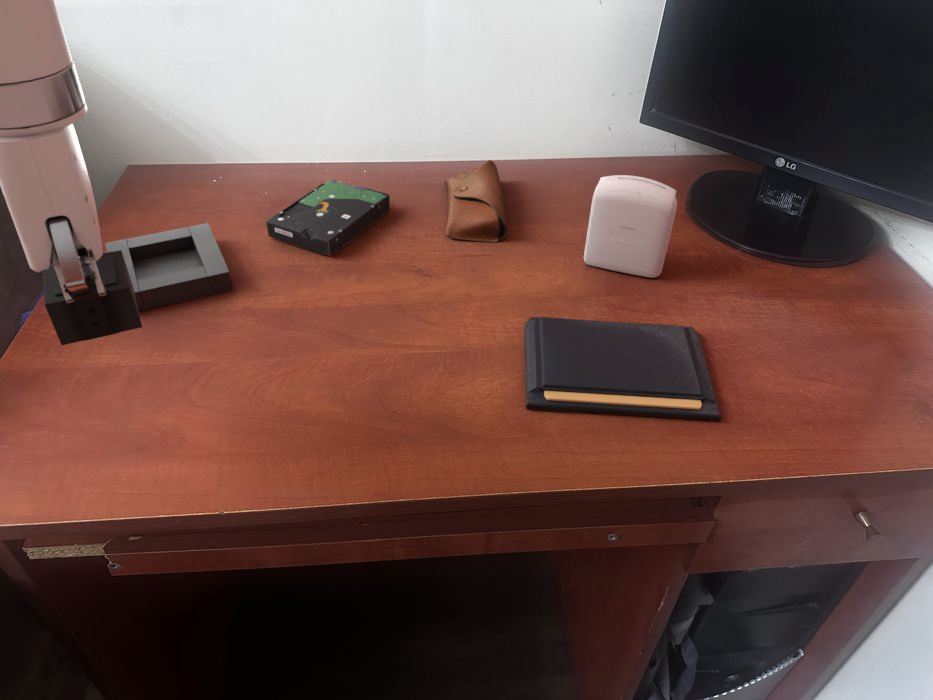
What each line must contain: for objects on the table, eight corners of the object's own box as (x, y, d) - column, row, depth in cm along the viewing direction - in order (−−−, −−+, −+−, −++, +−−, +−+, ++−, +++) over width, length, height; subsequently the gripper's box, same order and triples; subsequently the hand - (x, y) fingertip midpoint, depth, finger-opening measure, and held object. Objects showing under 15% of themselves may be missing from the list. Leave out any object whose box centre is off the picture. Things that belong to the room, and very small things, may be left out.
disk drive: (332, 260, 91) (391, 210, 101) (330, 241, 89) (390, 192, 100) (267, 239, 95) (331, 193, 105) (264, 221, 93) (329, 175, 103)
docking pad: (122, 315, 81) (116, 296, 79) (110, 260, 89) (104, 242, 88) (233, 289, 85) (229, 271, 84) (212, 240, 94) (208, 222, 92)
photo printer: (579, 266, 92) (593, 178, 84) (586, 249, 95) (600, 164, 87) (658, 283, 90) (681, 194, 82) (663, 266, 93) (685, 179, 85)
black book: (701, 319, 81) (727, 413, 69) (697, 332, 82) (721, 426, 70) (526, 305, 82) (523, 395, 70) (525, 318, 83) (521, 409, 71)
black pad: (61, 345, 56) (43, 302, 53) (57, 304, 60) (40, 262, 57) (142, 327, 58) (129, 285, 55) (133, 289, 62) (120, 247, 59)
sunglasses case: (441, 177, 109) (465, 142, 105) (479, 198, 112) (503, 165, 108) (444, 238, 95) (471, 200, 92) (487, 261, 98) (515, 225, 94)
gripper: (-40, 60, 52) (43, 268, 63) (-54, 154, 40) (52, 388, 51) (73, 50, 54) (133, 251, 66) (91, 135, 43) (160, 361, 54)
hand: (97, 309), depth 59 cm, fingers closed on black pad, 6 cm apart
